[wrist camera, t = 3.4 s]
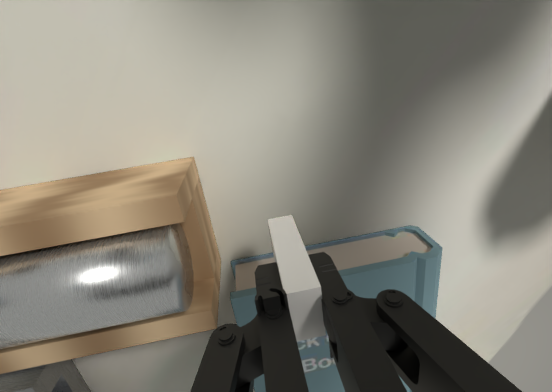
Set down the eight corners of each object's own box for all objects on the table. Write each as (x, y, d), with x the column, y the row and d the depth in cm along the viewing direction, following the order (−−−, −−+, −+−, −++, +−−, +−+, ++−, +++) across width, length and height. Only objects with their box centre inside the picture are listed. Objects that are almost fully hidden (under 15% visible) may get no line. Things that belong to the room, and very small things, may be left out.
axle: (178, 207, 18) (157, 246, 14) (197, 276, 20) (185, 332, 15) (-46, 248, 17) (-150, 305, 13) (-6, 316, 19) (-85, 388, 14)
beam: (193, 156, 21) (176, 195, 15) (221, 261, 25) (216, 328, 18) (-109, 209, 20) (-273, 275, 13) (-33, 310, 23) (-133, 402, 17)
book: (231, 257, 25) (230, 299, 21) (412, 222, 26) (450, 254, 22) (270, 418, 34) (276, 472, 30) (404, 388, 35) (429, 435, 31)
